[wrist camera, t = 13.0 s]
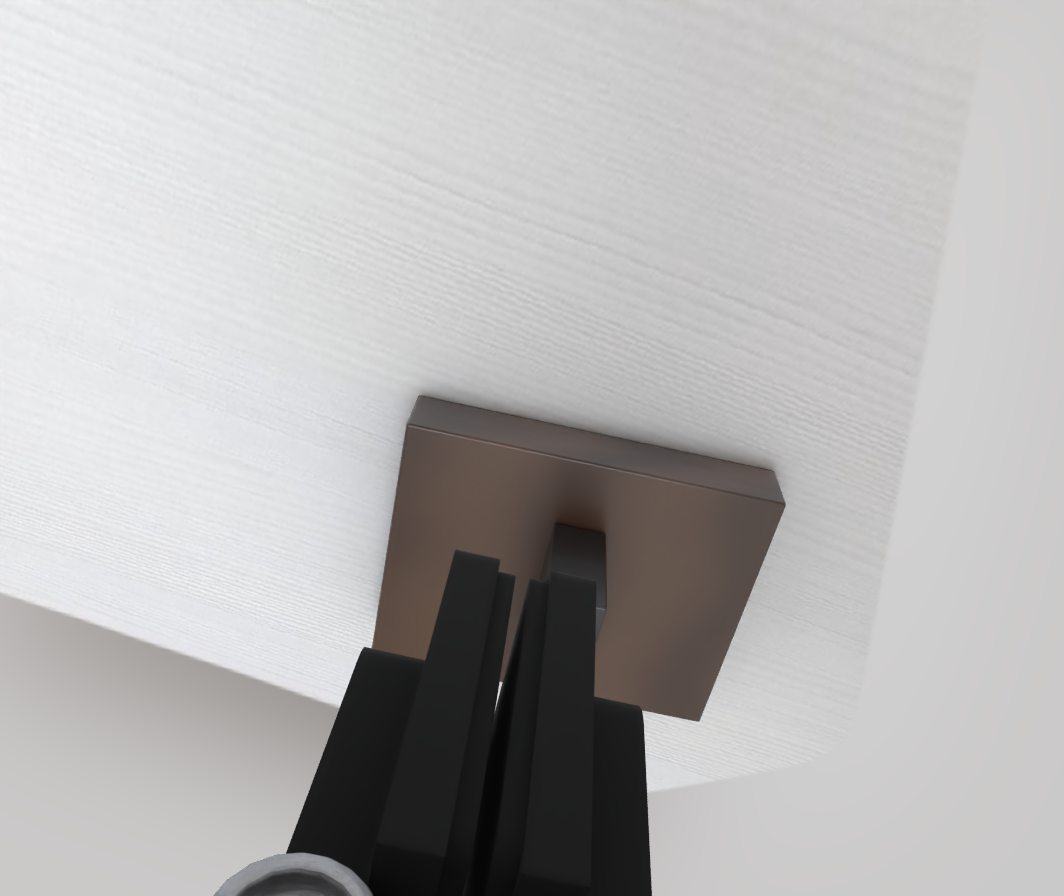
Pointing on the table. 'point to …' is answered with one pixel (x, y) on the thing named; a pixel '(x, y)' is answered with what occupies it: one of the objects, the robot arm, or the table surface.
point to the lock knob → (580, 561)
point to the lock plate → (590, 504)
